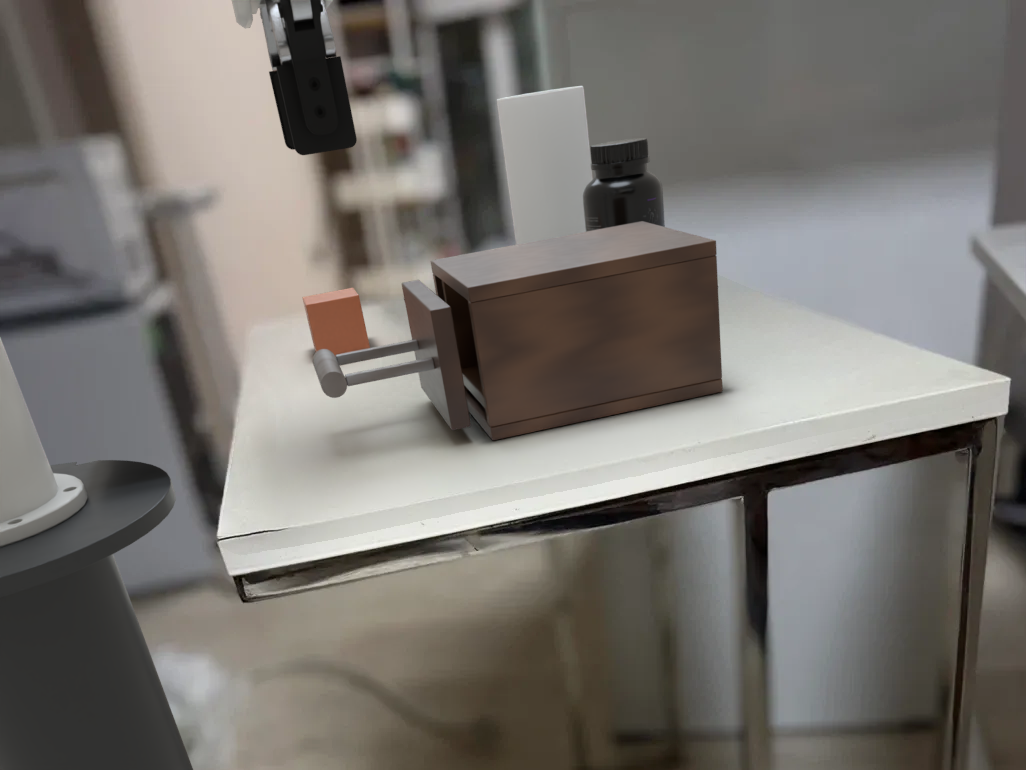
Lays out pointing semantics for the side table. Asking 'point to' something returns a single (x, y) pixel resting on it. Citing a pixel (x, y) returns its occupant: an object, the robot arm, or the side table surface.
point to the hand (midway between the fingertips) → (319, 147)
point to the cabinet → (589, 324)
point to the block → (336, 321)
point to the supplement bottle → (622, 186)
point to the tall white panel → (546, 161)
